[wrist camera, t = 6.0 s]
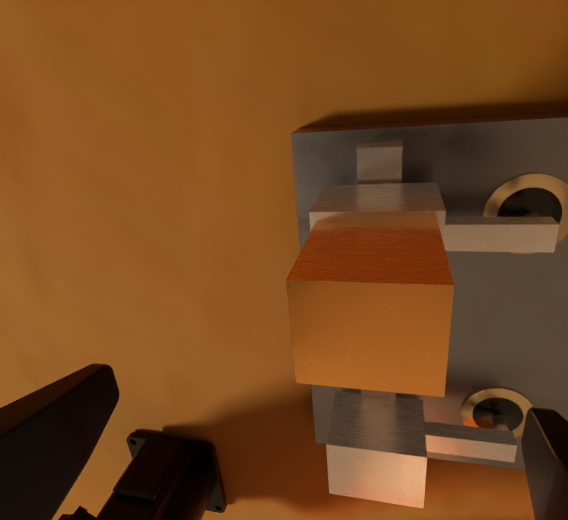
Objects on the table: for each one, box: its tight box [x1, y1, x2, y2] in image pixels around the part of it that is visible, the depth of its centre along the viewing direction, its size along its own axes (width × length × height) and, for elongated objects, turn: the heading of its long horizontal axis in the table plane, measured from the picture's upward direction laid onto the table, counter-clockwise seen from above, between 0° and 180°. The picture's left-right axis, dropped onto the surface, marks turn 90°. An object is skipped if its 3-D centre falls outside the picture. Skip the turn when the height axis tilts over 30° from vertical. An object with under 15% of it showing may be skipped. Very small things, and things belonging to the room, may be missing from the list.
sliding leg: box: [286, 182, 559, 397], centre depth 13 cm, size 4×8×8 cm, turn 95°
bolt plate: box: [291, 112, 568, 508], centre depth 18 cm, size 17×12×6 cm
